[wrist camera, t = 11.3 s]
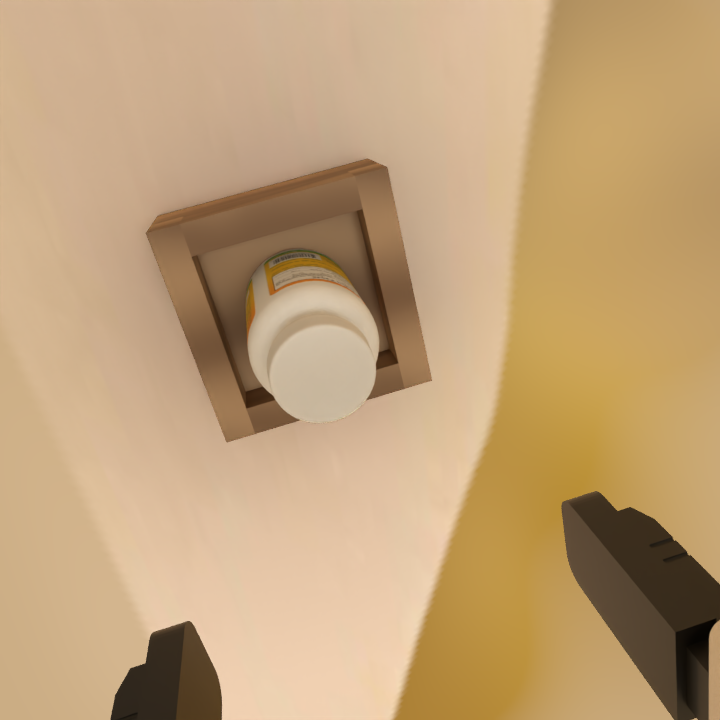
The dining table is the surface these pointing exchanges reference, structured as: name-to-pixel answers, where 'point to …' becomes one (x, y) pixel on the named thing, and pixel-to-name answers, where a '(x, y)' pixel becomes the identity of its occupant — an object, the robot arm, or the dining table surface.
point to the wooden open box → (266, 238)
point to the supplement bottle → (310, 336)
